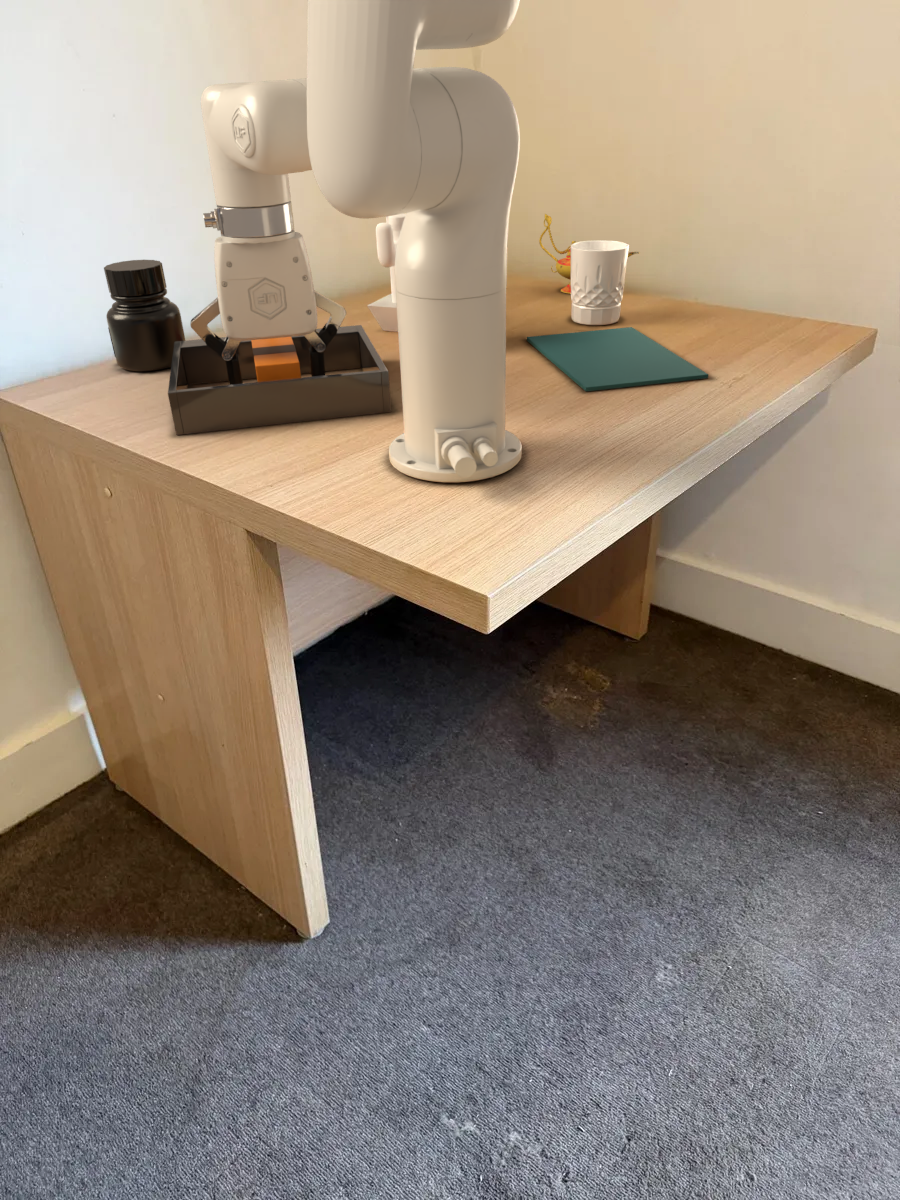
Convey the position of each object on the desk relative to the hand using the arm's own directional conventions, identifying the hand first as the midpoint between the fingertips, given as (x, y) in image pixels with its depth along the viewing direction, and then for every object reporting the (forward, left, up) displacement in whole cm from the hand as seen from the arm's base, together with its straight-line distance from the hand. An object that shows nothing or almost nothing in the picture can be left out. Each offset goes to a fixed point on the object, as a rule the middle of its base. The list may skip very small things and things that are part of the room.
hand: (278, 387), depth 98 cm
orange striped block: (0, 0, -1) cm, 1 cm away
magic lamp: (+37, -51, -1) cm, 63 cm away
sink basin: (+1, 0, -1) cm, 1 cm away
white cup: (+20, -46, -1) cm, 50 cm away
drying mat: (+2, -41, -1) cm, 41 cm away
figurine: (+25, -19, -1) cm, 31 cm away
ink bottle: (+19, +15, -1) cm, 24 cm away
